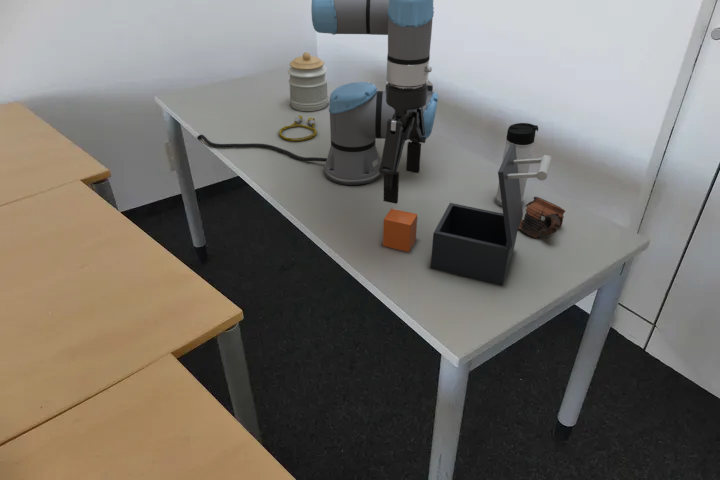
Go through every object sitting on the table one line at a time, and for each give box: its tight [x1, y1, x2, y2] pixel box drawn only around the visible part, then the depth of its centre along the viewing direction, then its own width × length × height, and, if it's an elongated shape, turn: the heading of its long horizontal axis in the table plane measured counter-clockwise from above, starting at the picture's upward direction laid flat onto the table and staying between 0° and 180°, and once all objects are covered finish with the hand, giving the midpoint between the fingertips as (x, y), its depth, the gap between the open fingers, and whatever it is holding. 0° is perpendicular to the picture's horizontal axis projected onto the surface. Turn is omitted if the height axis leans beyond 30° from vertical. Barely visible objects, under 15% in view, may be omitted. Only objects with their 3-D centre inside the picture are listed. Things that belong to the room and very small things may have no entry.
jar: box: [287, 51, 329, 112], centre depth 181 cm, size 13×13×18 cm
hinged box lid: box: [497, 144, 553, 247], centre depth 101 cm, size 16×12×8 cm
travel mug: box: [495, 122, 539, 207], centre depth 127 cm, size 6×7×20 cm
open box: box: [430, 202, 518, 287], centre depth 111 cm, size 15×12×9 cm
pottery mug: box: [518, 196, 566, 239], centre depth 121 cm, size 12×10×8 cm
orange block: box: [382, 208, 418, 253], centre depth 117 cm, size 6×5×7 cm
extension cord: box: [278, 115, 318, 142], centre depth 167 cm, size 12×16×2 cm
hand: (402, 186), depth 110 cm, fingers open, 13 cm apart
